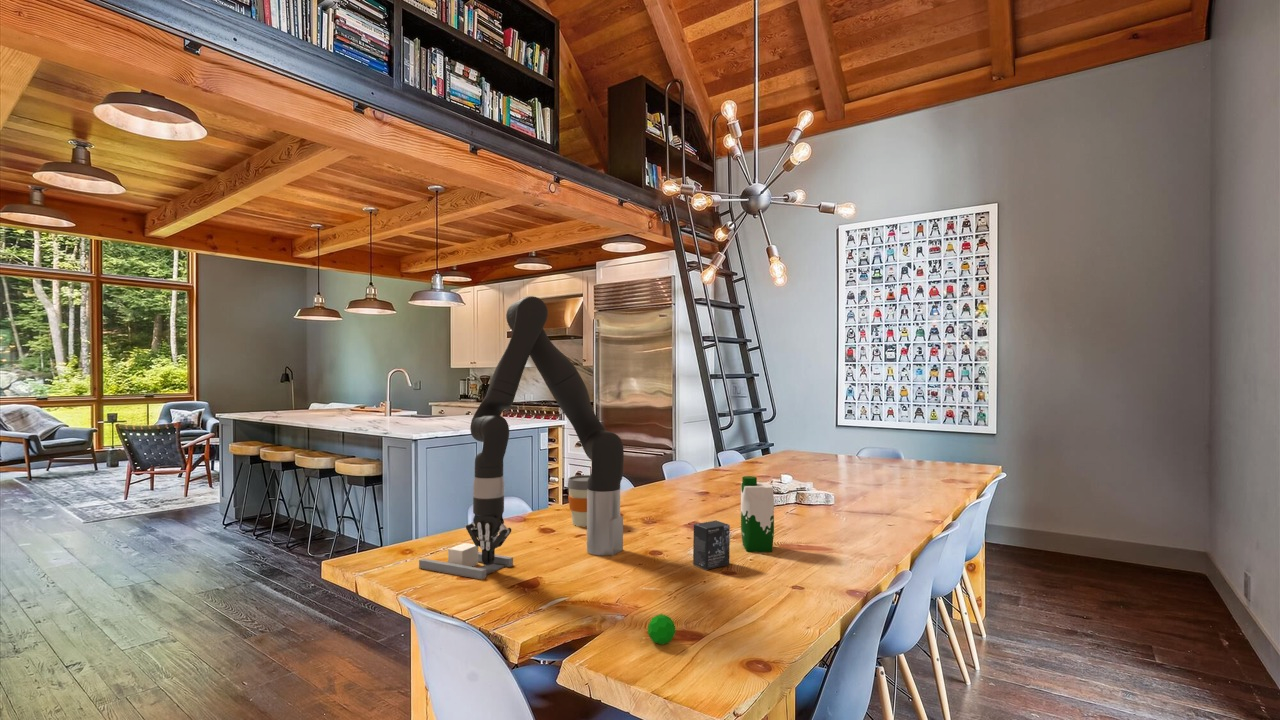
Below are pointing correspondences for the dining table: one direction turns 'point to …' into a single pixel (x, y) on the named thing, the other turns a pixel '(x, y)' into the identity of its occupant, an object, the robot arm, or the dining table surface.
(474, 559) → the block
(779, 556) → the dining table surface
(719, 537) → the box
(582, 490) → the reusable coffee cup
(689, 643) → the dining table surface
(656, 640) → the polyhedron
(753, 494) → the milk carton
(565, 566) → the dining table surface
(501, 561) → the channel
